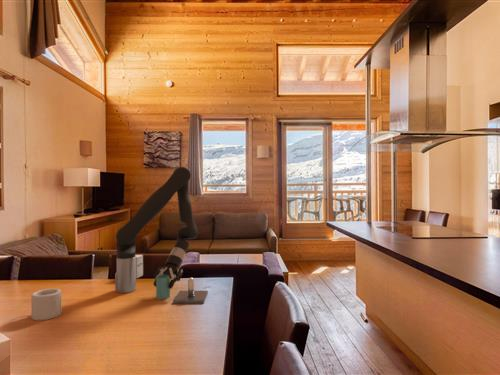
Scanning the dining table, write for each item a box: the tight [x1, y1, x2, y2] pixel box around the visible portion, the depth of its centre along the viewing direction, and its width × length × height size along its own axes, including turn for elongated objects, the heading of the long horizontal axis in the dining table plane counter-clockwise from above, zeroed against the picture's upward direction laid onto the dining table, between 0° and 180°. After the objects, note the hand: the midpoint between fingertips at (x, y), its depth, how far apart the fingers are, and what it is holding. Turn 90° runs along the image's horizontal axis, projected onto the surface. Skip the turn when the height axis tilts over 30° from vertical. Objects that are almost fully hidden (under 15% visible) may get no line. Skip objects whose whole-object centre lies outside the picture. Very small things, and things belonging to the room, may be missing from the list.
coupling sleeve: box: [155, 274, 171, 300], centre depth 161 cm, size 6×6×10 cm
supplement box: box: [136, 254, 144, 280], centre depth 199 cm, size 7×7×13 cm
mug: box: [30, 288, 63, 321], centre depth 140 cm, size 14×11×10 cm
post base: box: [172, 277, 209, 305], centre depth 159 cm, size 14×14×10 cm
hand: (162, 286), depth 161 cm, fingers open, 8 cm apart
